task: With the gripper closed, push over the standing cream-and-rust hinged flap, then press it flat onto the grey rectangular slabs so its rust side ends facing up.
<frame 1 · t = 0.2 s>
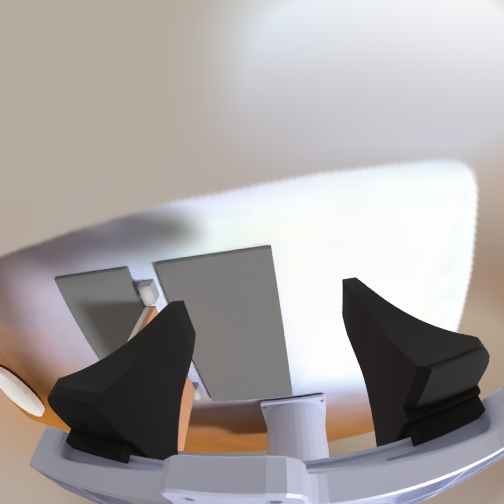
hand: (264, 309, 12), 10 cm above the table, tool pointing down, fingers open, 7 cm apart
plastic lid: (21, 386, 38), on the table
flap: (162, 385, 22), point 5 cm above the table, hinge at 90.0°
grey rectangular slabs: (175, 345, 27), on the table
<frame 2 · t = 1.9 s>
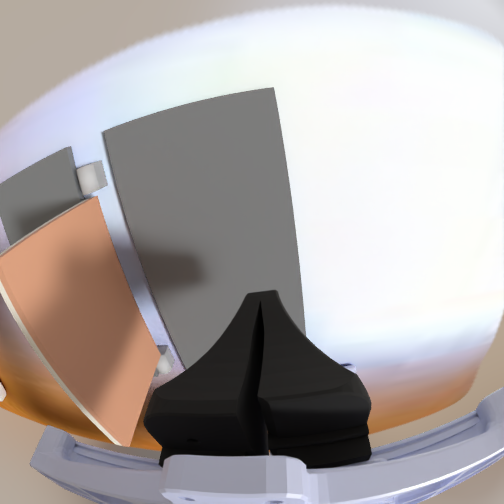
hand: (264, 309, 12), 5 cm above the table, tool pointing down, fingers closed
flap: (95, 327, 13), point 5 cm above the table, hinge at 90.0°
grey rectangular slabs: (130, 277, 18), on the table
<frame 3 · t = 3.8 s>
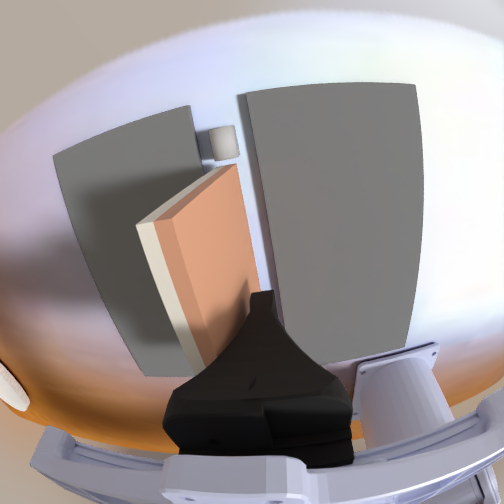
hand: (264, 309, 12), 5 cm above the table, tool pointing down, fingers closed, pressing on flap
plastic lid: (1, 371, 28), on the table
flap: (235, 317, 12), point 5 cm above the table, hinge at 95.8°, touching gripper
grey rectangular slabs: (249, 261, 17), on the table
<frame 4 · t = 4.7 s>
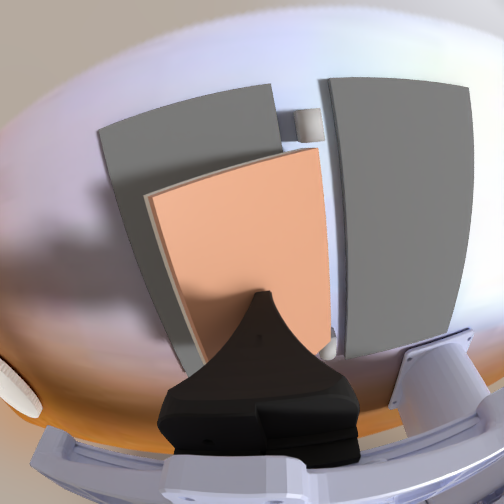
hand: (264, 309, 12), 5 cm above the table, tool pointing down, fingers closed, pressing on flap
plastic lid: (10, 376, 27), on the table
flap: (267, 294, 13), point 4 cm above the table, hinge at 139.9°, touching gripper
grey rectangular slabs: (321, 249, 16), on the table
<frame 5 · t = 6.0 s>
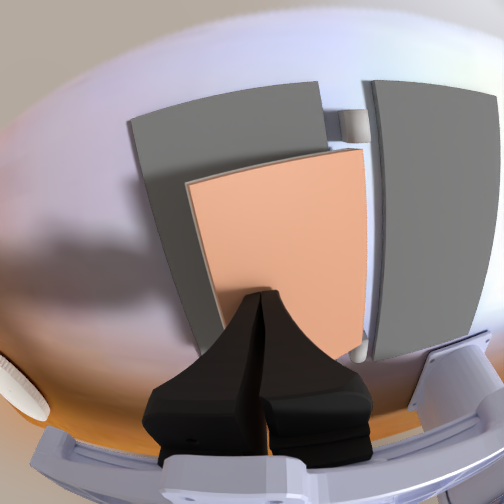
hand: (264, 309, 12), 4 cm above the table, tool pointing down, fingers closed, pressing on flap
plastic lid: (17, 378, 27), on the table
flap: (299, 287, 13), point 3 cm above the table, hinge at 154.8°, touching gripper
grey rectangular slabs: (359, 250, 16), on the table
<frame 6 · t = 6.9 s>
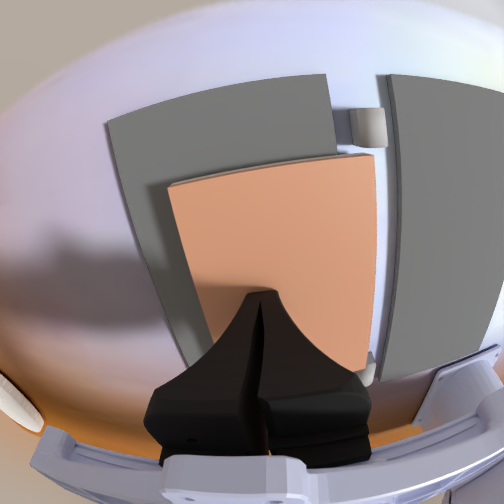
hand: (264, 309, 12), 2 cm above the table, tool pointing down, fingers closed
plastic lid: (10, 388, 25), on the table
flap: (290, 297, 13), point 1 cm above the table, hinge at 175.8°
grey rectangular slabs: (369, 269, 14), on the table
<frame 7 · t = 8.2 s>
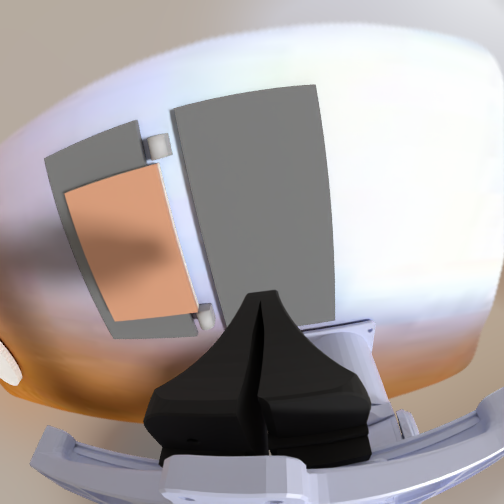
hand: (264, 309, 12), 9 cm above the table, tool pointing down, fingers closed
flap: (130, 252, 20), point 1 cm above the table, hinge at 175.9°
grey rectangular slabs: (184, 236, 21), on the table
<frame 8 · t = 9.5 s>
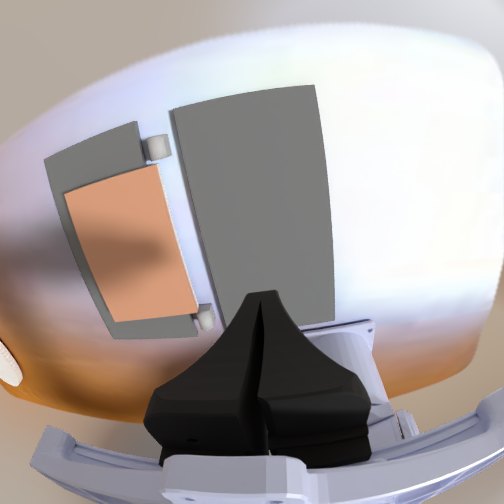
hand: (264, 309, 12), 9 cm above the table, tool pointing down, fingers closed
flap: (130, 252, 20), point 1 cm above the table, hinge at 175.9°
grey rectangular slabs: (184, 237, 21), on the table
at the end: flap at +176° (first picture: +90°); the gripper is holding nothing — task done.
